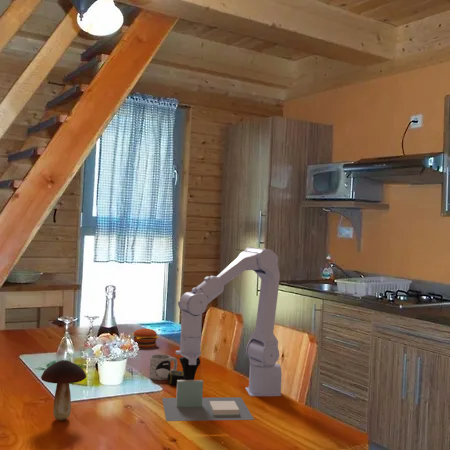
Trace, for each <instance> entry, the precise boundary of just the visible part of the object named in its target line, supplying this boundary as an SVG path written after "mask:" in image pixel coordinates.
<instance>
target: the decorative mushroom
mask: <svg viewBox="0 0 450 450" xmlns="http://www.w3.org/2000/svg"><path fill="white" fill-rule="evenodd" d="M86 378H87V373H86V372H85V370H84V369H83V368H82V367H81V366H79V365H78V364H76V363H75V362H72V361H69V360H66V359H65V360H58V361H57V362H54V363H52V364H51V365H50V366H48V367H47V368H45V370H44V371H43V373H42V374H41V376H40V379H41V381H43V382H45V383H49V384H50V383H51V384H56V386H55V387H56V388H55V392H54V398H53V409H52V412H53V417H54V419H55V420H58V421H65V420H67V419H68V418H69V417H70V416H71V410H72V397H71V395H72V394H71V388H70V384H73V383H80V382H83V381H84V380H86Z"/></svg>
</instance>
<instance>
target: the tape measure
mask: <svg viewBox="0 0 450 450" xmlns="http://www.w3.org/2000/svg"><path fill="white" fill-rule="evenodd" d="M177 380H184V375H183V370H176V371H171V372H169V374H168V379H167V383H168V384H170V385H172V386H176V387H177Z"/></svg>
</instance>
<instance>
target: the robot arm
mask: <svg viewBox="0 0 450 450" xmlns="http://www.w3.org/2000/svg"><path fill="white" fill-rule="evenodd" d="M278 262H279V257H278V255H277V254H276V253H275V252H274V251H273V250H272V249H269V248H259V247H254V246H248V247H246V248H245V249H244V251H243V250H242V251H241V252H240V253H239V254H238V256H237V257H236V258H235V259H234V260H233V261H232V262H230V264H229V265H227V266H226V267H225V268H224V269H222V271H221V272H220V273H219V274H217V275H210V276H208V275H207V276H205V277H204V280H203V281H202V282H201V283H200V284H198V285H197V286H195V287H193V288H192V289H191V291H187V292H184V293H183V294H181V296H180V299H179V301H177V306H178V308H179V310H180V311H181V315H180V316H181V319H180V320H181V321H180V340H179V341H180V344H179V345H180V346H179V350H175V355H178V356H179V355H180V356H181V357H179V358H178V359H179V362H180V365H181V368H182V371H183V375H184V380H195V377H196V376H195V375H196V373H197V369H198V368H199V366H200V365H201V360H200V356H201V354H202V351H201V346H202V345H201V344H202V343H201V342H202V323H203V322H202V321H203V313H205V311H206V309H207V307H208V304H210V303H211V302H212V301H213V300H215V299H216V298H217V297H218V296H220V295H221V294H223V292H224V289H225V285H226V284H228V283H230V282H231V281H232V280H233V279H235V278H237V277H238V276H239V275H241V274H242V273H243V272H245V271H253V272H254V273H255V274H256V275H257V276H258V277H259V278H260V287H259V296H258V302H257V303H258V304H257V312H256V321H255V330H254V331H253V332H252V333H251V334H250V335H249V340H248V341H247V344H246V348H245V353H246V356H247V357H248V358H249V360H248V361H249V373H248V374H249V376H248V386H246V387H245V390H246V392H247V393H248V395H249V396H250V397H281V396H282V393H281V392H282V367H281V365H280V364H279V363H277V362H278V361H279V357H280V350H279V347H278V346H279V340H278V338H277V336H275V334H274V332H275V331H274V330H275V322H276V321H275V320H276V315H277V313H276V312H277V304H278V303H277V302H278V296H279V287H280V281H281V279H280V277H281V274H280V269H279V265H278Z"/></svg>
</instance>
